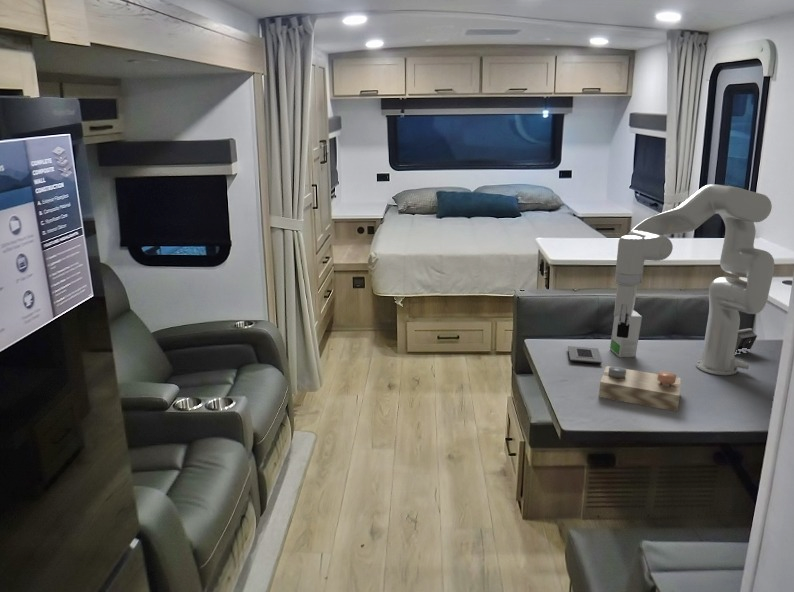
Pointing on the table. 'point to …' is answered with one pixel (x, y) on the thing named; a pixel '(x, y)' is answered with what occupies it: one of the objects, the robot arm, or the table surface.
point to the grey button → (617, 372)
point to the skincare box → (626, 345)
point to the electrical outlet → (584, 354)
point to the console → (640, 389)
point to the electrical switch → (745, 339)
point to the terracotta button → (666, 378)
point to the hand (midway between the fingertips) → (622, 336)
